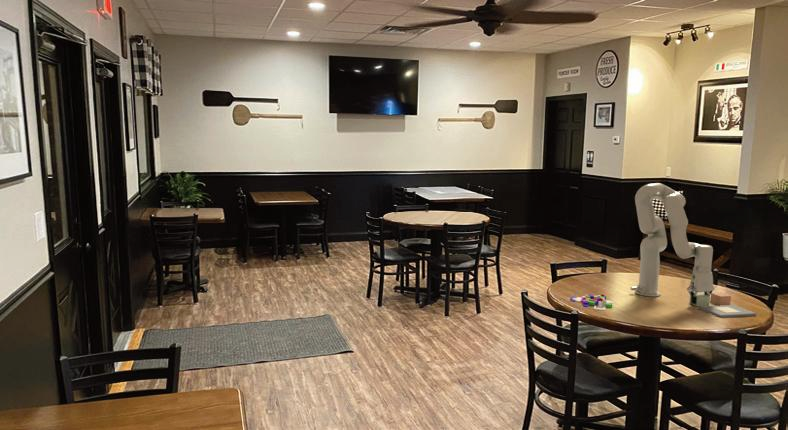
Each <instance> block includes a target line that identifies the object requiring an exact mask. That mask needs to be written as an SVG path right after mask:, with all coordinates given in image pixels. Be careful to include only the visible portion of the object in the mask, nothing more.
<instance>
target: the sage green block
mask: <svg viewBox="0 0 788 430" xmlns="http://www.w3.org/2000/svg"><path fill="white" fill-rule="evenodd" d="M696 297H697V299H696V304H694V305H693V304H692V303H691V295H690V294H689V304H691V305H693V306H696V307H701V306H710V303H711V302H710V298H711V295H710V296H707V295H705V294H704V293H703V292H698V293H697V295H696Z"/></svg>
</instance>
